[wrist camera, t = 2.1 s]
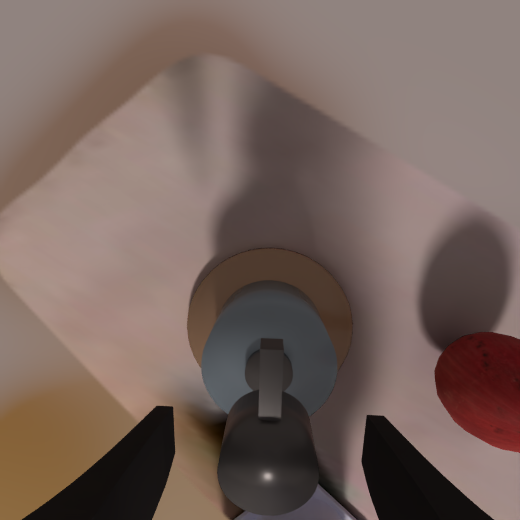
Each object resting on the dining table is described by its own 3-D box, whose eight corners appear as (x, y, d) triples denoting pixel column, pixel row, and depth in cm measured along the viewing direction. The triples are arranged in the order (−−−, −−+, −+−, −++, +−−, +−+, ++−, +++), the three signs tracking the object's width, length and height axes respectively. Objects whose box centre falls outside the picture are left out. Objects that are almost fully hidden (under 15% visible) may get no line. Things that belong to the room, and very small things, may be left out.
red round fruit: (425, 305, 19) (536, 380, 11) (510, 321, 19) (682, 406, 11) (401, 382, 20) (485, 499, 12) (481, 396, 20) (617, 522, 12)
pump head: (267, 452, 12) (266, 531, 9) (187, 379, 12) (159, 439, 9) (352, 386, 12) (381, 450, 9) (271, 305, 11) (272, 342, 8)
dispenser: (266, 424, 21) (264, 501, 16) (157, 322, 20) (114, 368, 14) (383, 330, 19) (427, 381, 14) (272, 212, 18) (273, 217, 13)
